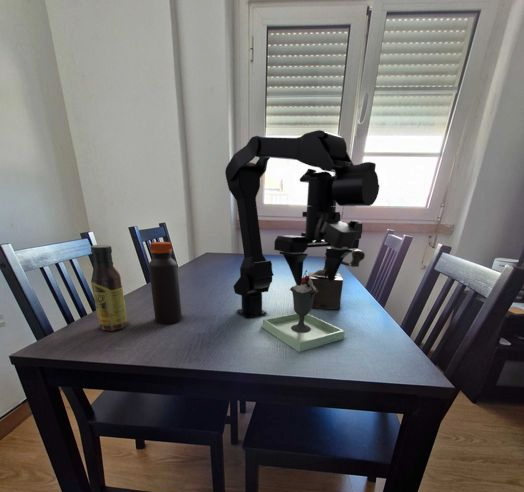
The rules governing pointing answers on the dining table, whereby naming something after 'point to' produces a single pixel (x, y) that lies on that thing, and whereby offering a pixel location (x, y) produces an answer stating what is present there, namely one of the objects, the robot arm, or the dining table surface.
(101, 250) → the sauce bottle
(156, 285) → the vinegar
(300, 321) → the sundae
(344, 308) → the dining table surface
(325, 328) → the serving tray
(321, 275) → the manual coffee grinder
